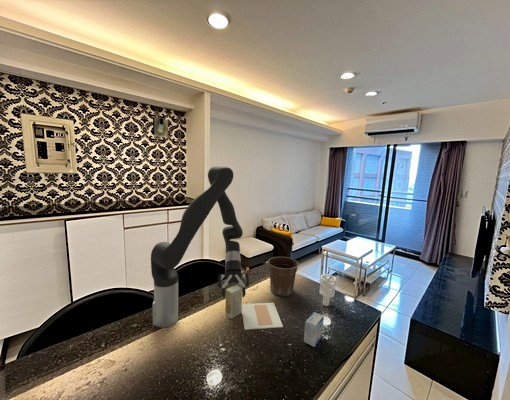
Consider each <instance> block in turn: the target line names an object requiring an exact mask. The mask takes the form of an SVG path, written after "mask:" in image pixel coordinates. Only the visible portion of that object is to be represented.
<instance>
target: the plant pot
mask: <svg viewBox="0 0 510 400" xmlns="http://www.w3.org/2000/svg"><path fill="white" fill-rule="evenodd" d="M267 264H268V270H269V283H270V285H269V287H270V288H269V289H270V292H271V293H272V294H274V295H276V296H281V297H289V296H291V295H292V294H293V293H294V286H295V281H296V273H297V271H298V266H299V262H298V261H297V260H295V259H294V258H291V257H286V256H274V257H270V258H269V259H268V260H267Z"/></svg>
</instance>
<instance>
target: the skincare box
mask: <svg viewBox="0 0 510 400" xmlns="http://www.w3.org/2000/svg"><path fill="white" fill-rule="evenodd" d="M242 300H243V298H242V287H241V286H240V285H239V284H238V285H237V284H233V285H232V286H230V287H227V288H225V312H224V313H225V316H227V317H228V318H229V319H231V320H233V318H236V317H237V316H239V315H240V314H241V315H242V304H243V301H242Z"/></svg>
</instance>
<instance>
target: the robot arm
mask: <svg viewBox="0 0 510 400" xmlns="http://www.w3.org/2000/svg"><path fill="white" fill-rule="evenodd" d="M207 178H208V183H209V184H210V186H209V187H208V188H207V189H206V190H204V191H203V192H202V193H201V194H199V195H197V196H196V197H195V198H194V199H192V201H190V203H189V204H188V206H187V207H186V209H185V210H184V211H183V214H182V216H181V221H180V226H179V229H178V232H177V234H176V235H175V237H174V238H173V240H172V241H171V243H170V242H167V241H160V242H159V243H156V244H155V245H154V246H153V248H152V250H151V254H150V271H151V277H152V279H153V302H152V326H154V327H157V328H163V329H165V328H170V327H171V326H174V325H175V324H176V323H177V322H178V321H179V274H178V272H177V270H176V267H177V266H178V265H179V264H180V262H181V261H182V259H183V258H184V256H185V253H186V252H187V250H188V248H189V246H190V244H191V242H192V240H193V239H194V237H195V236H196V234H197V232H198V231H199V229H200V228H201V226H202V224H204V222H205V221H206V219H207V217H208V216H209V214H210V212H211V211H212V209H213V208H214V206H215V205H216V204H218V208H219V211H220V215H221V218H222V222H223V224H224V225H227V226H225V227H223V229H222V236H223V239H224V244H225V258H224V259H225V263H224V264H225V266H224V267H225V268H224V269H225V271H224V272H225V273H224V274H221V273H218V277H217V288H218V289H221V297H222V298H223V299H226V287H227V286H228V285H237V284H238V286H239V287H241V288H242V299H243V298H245V297H246V293H247V292H246V289H247V288H249V287H250V280H249V279H250V278H249V274H248V272H246V273H242V261H241V251H240V250H241V246H240V243H239V242H238V241H236V240H238V239H241V238H242V236H243V232H244V231H243V228H242V227H241V225H240V223H239V221H238V219H237V215H236V211H235V210H236V209H235V208H234V204H233V203H232V201H231V200H230V198H229V196H228V195H227V193H226V190H227V189H228V188H229V187H230V185H231V184H232V182H233V180H234V171H233V170H232V168H230V167H228V166H212V167H211V168H209V169H208V172H207ZM242 278H243V280H245V281H243V280H242ZM224 279H225V281H224V282H223V284H221V283H222V280H224ZM244 282H245V283H244Z"/></svg>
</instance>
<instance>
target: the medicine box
mask: <svg viewBox="0 0 510 400" xmlns="http://www.w3.org/2000/svg"><path fill="white" fill-rule="evenodd" d="M324 318H325V317H324V315H322V314H321V313H317V312H314V311H313V312H312V313H311V314H310V316H309V317H308V318H307V319H306V320H305V322H304V337H303V342H304V343H305V344H307V345H310V346H311V347H314V348H315V347H316V346H317V344H318V343H319V341H320V340H321V338H322V336H323V331H324V320H325V319H324Z"/></svg>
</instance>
